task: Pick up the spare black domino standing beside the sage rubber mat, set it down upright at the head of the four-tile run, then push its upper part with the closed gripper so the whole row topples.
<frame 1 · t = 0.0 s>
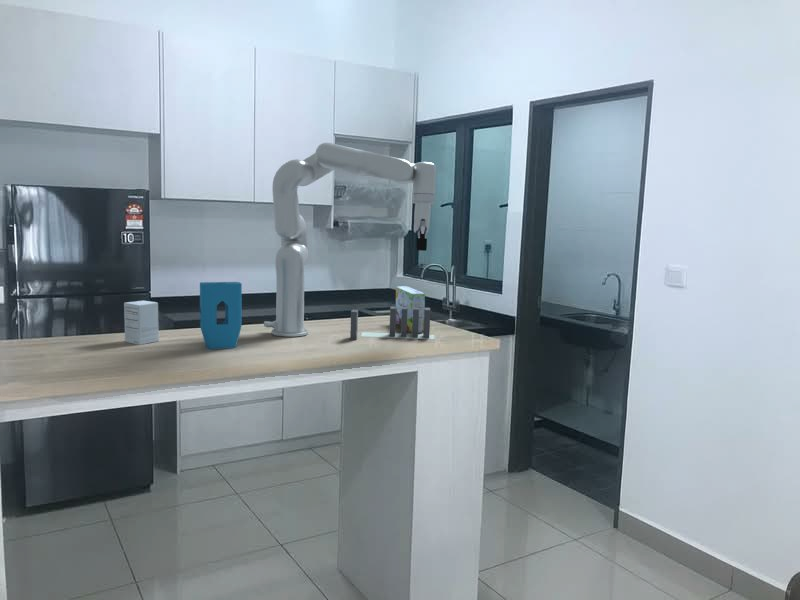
hand: (421, 249, 217), 31 cm above the countertop, tool pointing down, fingers open, 9 cm apart
block: (220, 347, 197), on the countertop
snack box: (408, 328, 241), on the countertop
domino 3: (403, 335, 223), resting on mat
mat: (397, 336, 223), on the countertop
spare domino: (353, 339, 215), on the countertop
domino 2: (392, 335, 223), resting on mat
supplement box: (141, 342, 200), on the countertop
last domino: (426, 336, 223), resting on mat
domino 4: (414, 336, 223), resting on mat
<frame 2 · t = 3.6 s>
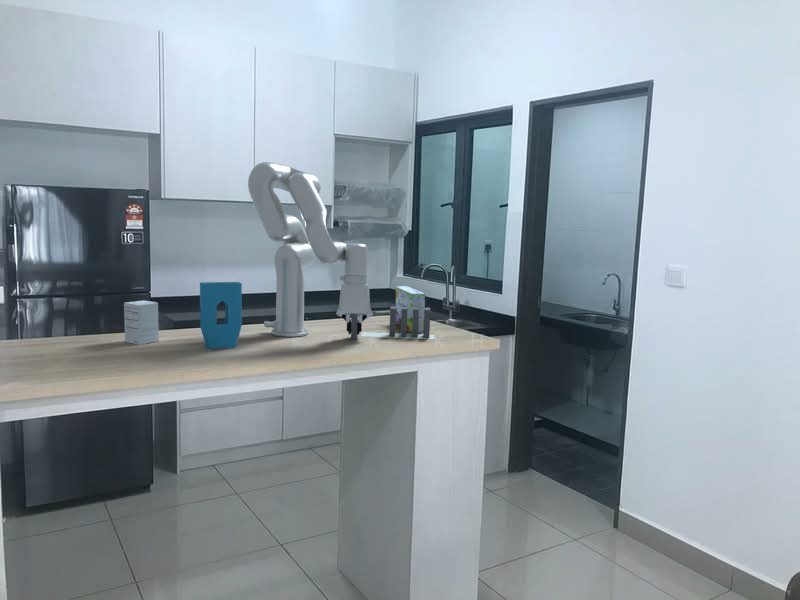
hand: (354, 333, 215), 2 cm above the countertop, tool pointing down, fingers closed on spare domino, 2 cm apart
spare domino: (354, 339, 215), on the countertop, touching gripper
everything else where it was.
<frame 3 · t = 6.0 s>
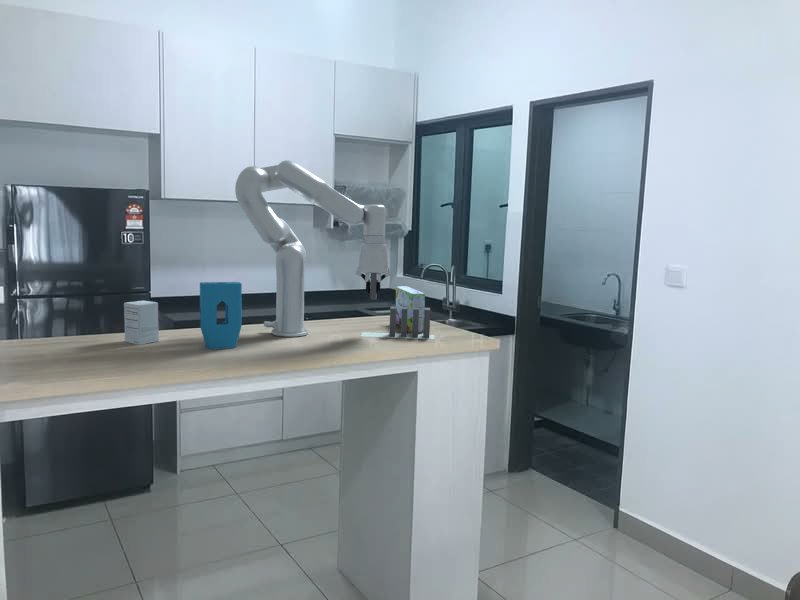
hand: (373, 292, 221), 15 cm above the countertop, tool pointing down, fingers closed on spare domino
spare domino: (373, 298, 221), point 13 cm above the countertop, touching gripper
everything else where it was.
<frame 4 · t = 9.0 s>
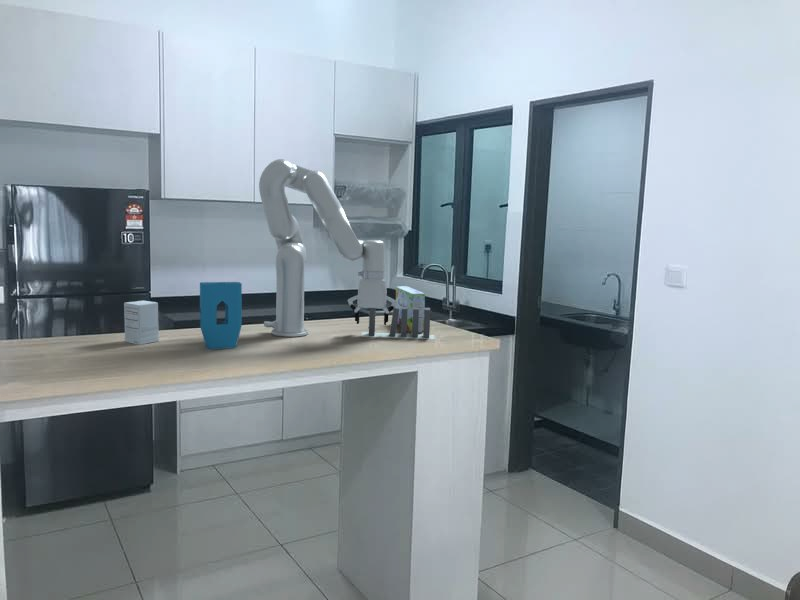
hand: (371, 323, 223), 4 cm above the countertop, tool pointing down, fingers open, 9 cm apart
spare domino: (371, 334, 223), resting on mat
domino 2: (392, 335, 223), point 1 cm above the countertop, tilted 7°, touching gripper, mat
everything else where it was.
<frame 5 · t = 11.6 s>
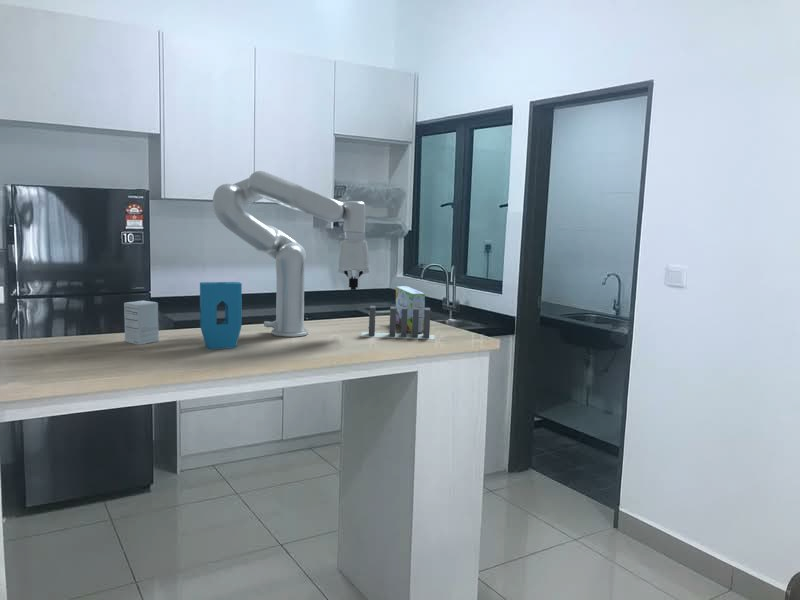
hand: (353, 289, 221), 16 cm above the countertop, tool pointing down, fingers closed
domino 2: (392, 335, 223), resting on mat
everything else where it was.
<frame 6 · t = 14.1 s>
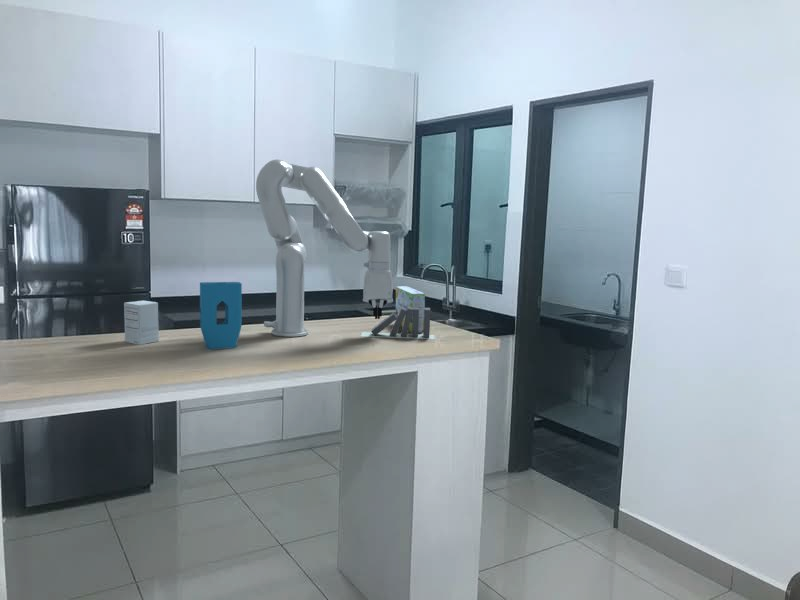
hand: (377, 318, 222), 6 cm above the countertop, tool pointing down, fingers closed
domino 3: (403, 335, 223), point 1 cm above the countertop, tilted 12°, touching domino 2, domino 4
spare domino: (373, 332, 223), point 1 cm above the countertop, tilted 50°, touching mat
domino 2: (392, 334, 223), point 1 cm above the countertop, tilted 22°, touching domino 3, mat
domino 4: (414, 336, 223), resting on mat, touching domino 3
everything else where it was.
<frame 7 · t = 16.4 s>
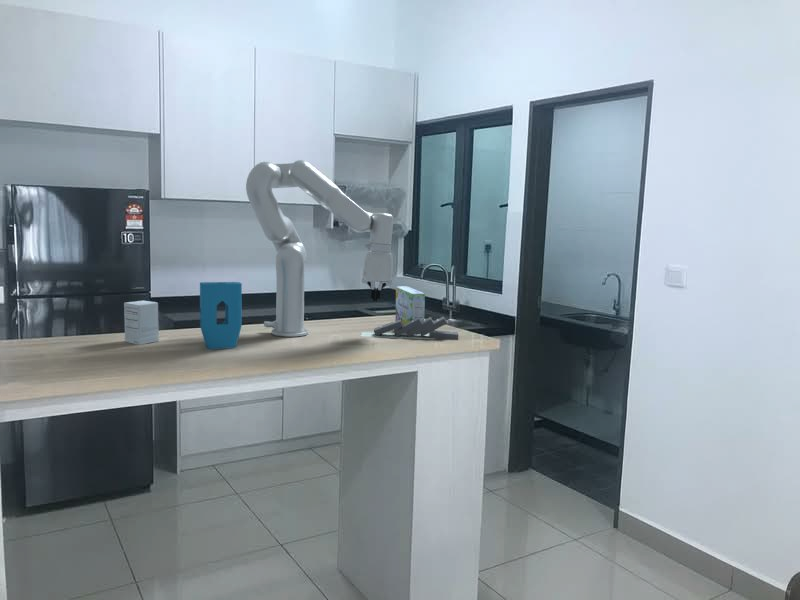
hand: (375, 300, 221), 13 cm above the countertop, tool pointing down, fingers closed
domino 3: (407, 333, 223), point 1 cm above the countertop, tilted 60°, touching domino 2, domino 4, mat
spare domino: (375, 332, 223), point 1 cm above the countertop, tilted 68°, touching domino 2, mat
domino 2: (395, 333, 223), point 1 cm above the countertop, tilted 60°, touching domino 3, mat, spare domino
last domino: (429, 333, 223), point 1 cm above the countertop, tilted 93°, touching domino 4, mat
domino 4: (420, 332, 223), point 2 cm above the countertop, tilted 60°, touching domino 3, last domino
everything else where it was.
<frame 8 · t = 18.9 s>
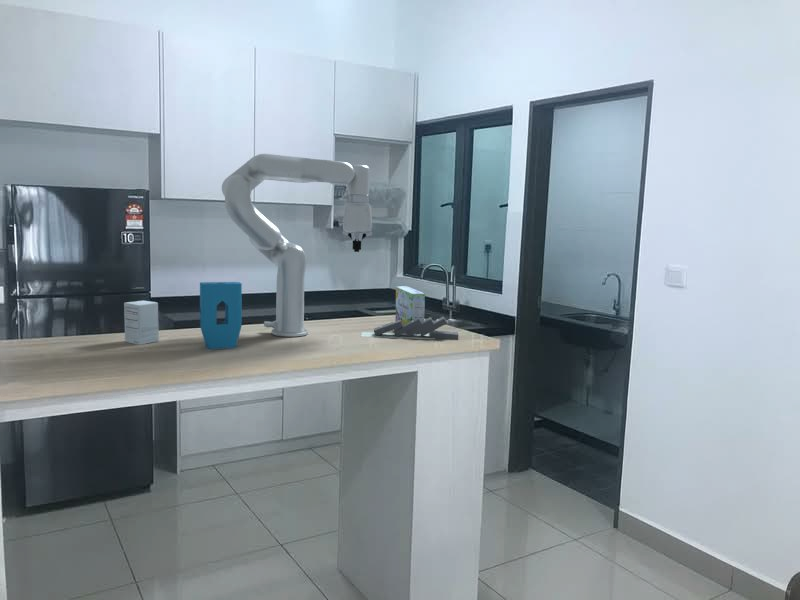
hand: (356, 251, 227), 29 cm above the countertop, tool pointing down, fingers closed
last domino: (429, 333, 223), point 1 cm above the countertop, tilted 93°, touching domino 4, mat
everything else where it was.
at the end: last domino tilted 93°; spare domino tilted 68°; the gripper is holding nothing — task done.
